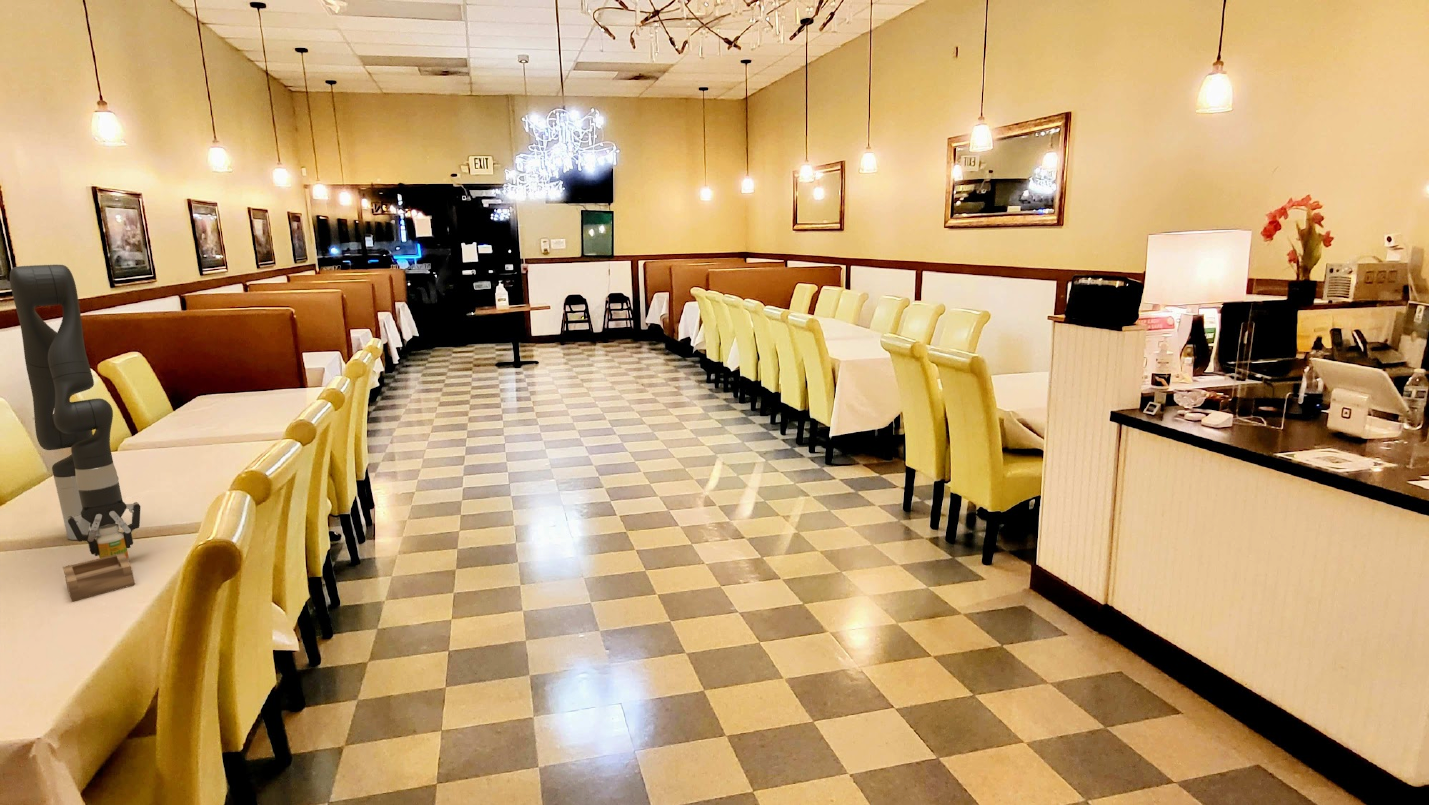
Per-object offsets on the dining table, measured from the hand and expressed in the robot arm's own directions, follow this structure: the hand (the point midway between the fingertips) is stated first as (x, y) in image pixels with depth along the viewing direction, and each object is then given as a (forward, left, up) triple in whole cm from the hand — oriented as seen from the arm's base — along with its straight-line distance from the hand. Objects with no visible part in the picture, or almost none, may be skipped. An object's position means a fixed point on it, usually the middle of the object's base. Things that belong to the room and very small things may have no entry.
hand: (112, 550), depth 182 cm
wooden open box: (+12, -4, -3) cm, 13 cm away
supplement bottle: (0, 0, -4) cm, 4 cm away
